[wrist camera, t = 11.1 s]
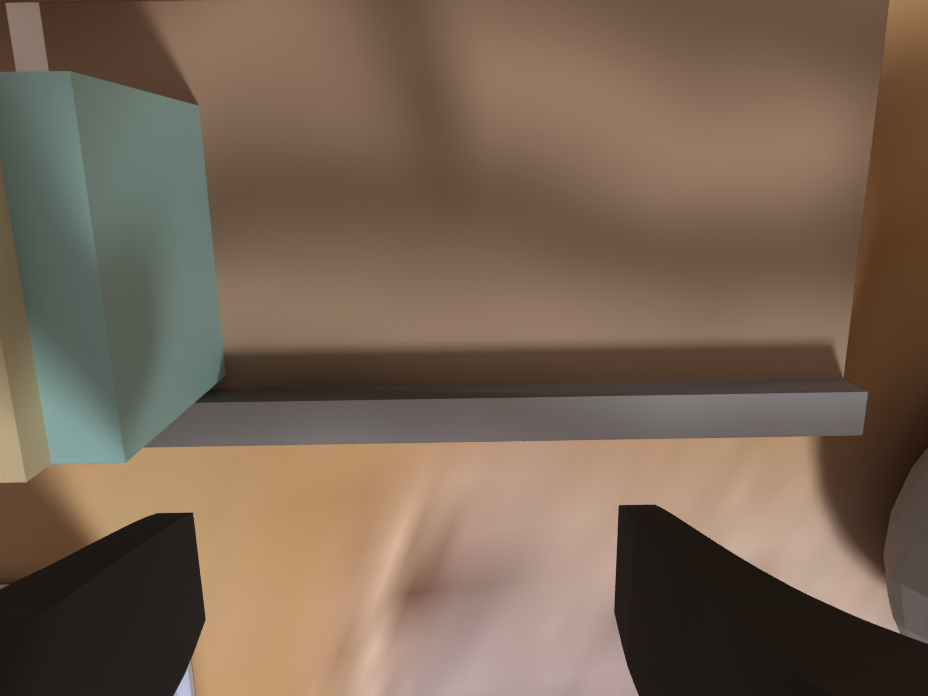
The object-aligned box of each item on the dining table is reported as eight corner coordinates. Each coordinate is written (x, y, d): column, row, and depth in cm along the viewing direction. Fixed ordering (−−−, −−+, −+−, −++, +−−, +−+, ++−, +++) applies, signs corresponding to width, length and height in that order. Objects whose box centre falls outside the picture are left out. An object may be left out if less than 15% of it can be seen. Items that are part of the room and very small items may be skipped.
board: (811, 403, 21) (862, 435, 18) (46, 415, 21) (-13, 450, 18) (856, 5, 18) (922, -23, 16) (-21, 17, 18) (-100, -10, 16)
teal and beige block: (225, 375, 19) (104, 480, 13) (79, 377, 19) (-120, 484, 12) (199, 105, 17) (42, 63, 11) (37, 107, 17) (-218, 66, 11)
